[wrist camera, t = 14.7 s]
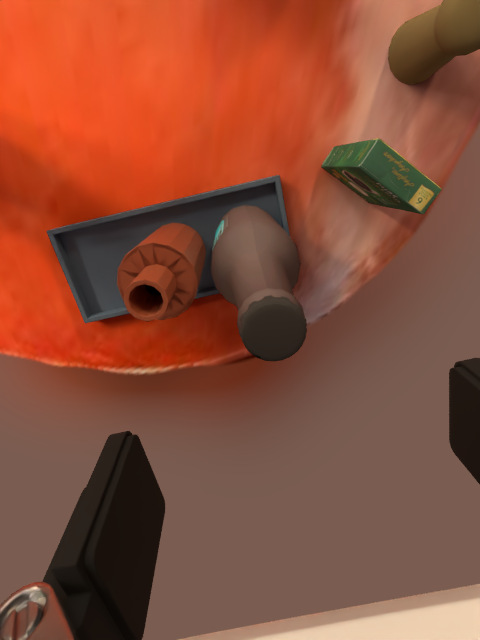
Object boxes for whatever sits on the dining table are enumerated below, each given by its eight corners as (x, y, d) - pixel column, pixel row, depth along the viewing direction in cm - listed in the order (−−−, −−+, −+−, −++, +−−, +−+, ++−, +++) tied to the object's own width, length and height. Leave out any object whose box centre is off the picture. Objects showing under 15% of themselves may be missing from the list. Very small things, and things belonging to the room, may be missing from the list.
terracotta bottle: (158, 284, 48) (117, 350, 30) (140, 230, 45) (84, 267, 27) (211, 272, 47) (202, 332, 30) (197, 216, 45) (177, 245, 27)
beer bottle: (206, 217, 45) (171, 292, 17) (265, 194, 44) (328, 233, 16) (228, 273, 47) (229, 417, 20) (284, 253, 47) (366, 372, 19)
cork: (412, 97, 41) (473, 72, 31) (376, 55, 39) (428, 13, 29) (455, 48, 39) (535, 4, 29) (420, 1, 38) (491, -62, 28)
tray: (90, 317, 50) (84, 323, 48) (53, 228, 45) (46, 231, 43) (294, 272, 48) (296, 276, 46) (277, 175, 44) (279, 175, 42)
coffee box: (386, 184, 44) (446, 189, 32) (370, 205, 45) (423, 217, 33) (334, 144, 43) (377, 133, 30) (319, 167, 43) (355, 164, 31)
